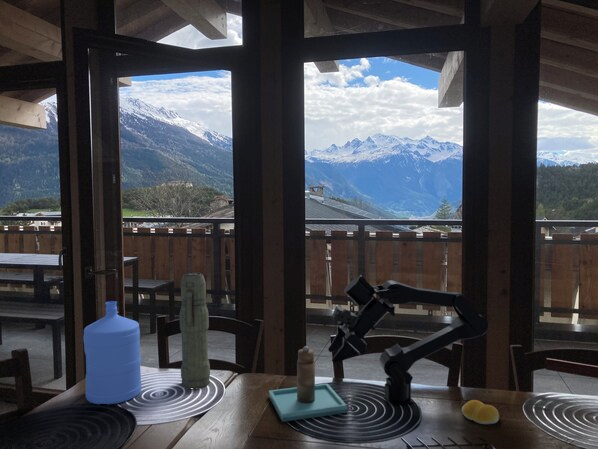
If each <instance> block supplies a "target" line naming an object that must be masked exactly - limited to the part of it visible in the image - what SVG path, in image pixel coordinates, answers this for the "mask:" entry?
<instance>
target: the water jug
mask: <svg viewBox="0 0 598 449" xmlns="http://www.w3.org/2000/svg"><path fill="white" fill-rule="evenodd" d="M104 304H105V316H103V317H102V318H100V319H98V320H96V321H94V322H92V323H91V324H89V325H87V326H85V328H84V329H83V346H84V354H85V368H86V374H85V391H84V392H85V399H86V400H87V401H88V402H89V403H91V404H95V405H100V404H107V405H113V404H114V405H115V404H120V403H125V402H127V401H129V400H132V399H134V398H136V397H137V396H138V395H139V394H140V393H141V391H142V379H141V378H142V377H141V374H142V373H141V364H142V363H141V362H142V359H141V357H142V356H141V345H140V344H141V343H140V342H141V340H140V339H141V331H140V330H141V329H140V324H139V322H138V321H137V320H133V319H130V318H127V317H124V316H121V315H118V306H117V304H118V301H115V300H111V301H106V302H105V303H104Z"/></svg>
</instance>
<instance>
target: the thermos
mask: <svg viewBox="0 0 598 449" xmlns="http://www.w3.org/2000/svg"><path fill="white" fill-rule="evenodd" d="M206 299H207V282H206V279H205V276H204V274H203V273H201V272H187V273H185V274H184V275H183V276H182V278H181V282H180V300H181V305H180V306H181V307H180V310H179V329H180V332H181V355H182V356H181V357H182V358H181V359H182V363H181V366H180V378H181V386H183V387H185V388H184V389H186V388H194V389H193V390H197V389H196V388H200V389H203V388H202V387H204V388H206V387H208V386H209V385H210V375H211V364H210V360H209V348H208V346H209V345H208V330H209V327H210V326H209V323H210V322H209V321H210V320H209V319H210V318H209V310H208V306H207V302H206V301H207V300H206ZM208 384H209V385H208ZM207 385H208V386H207ZM205 386H206V387H205ZM183 387H182V388H183Z"/></svg>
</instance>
